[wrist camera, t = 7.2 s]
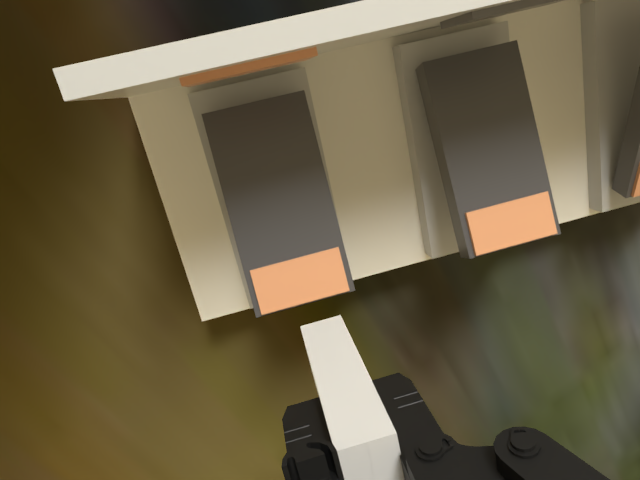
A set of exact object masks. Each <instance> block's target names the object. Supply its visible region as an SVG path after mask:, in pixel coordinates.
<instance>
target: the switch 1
mask: <svg viewBox="0 0 640 480" xmlns="http://www.w3.org/2000/svg"><path fill="white" fill-rule="evenodd" d="M201 115H202V118H203V122H204V126H205V130H206V133H207V137H208V141H209V144H210V148H211V152H212V156H213V159H214V163H215V167H216V170H217V174H218V178H219V182H220V185H221V189H222V193H223V196H224V200H225V204H226V208H227V211H228V215H229V219H230V222H231V226H232V230H233V234H234V237H235V241H236V245H237V249H238V252H239V256H240V260H241V263H242V267H243V271H244V275H245V278H246V282H247V286H248V289H249V293H250V297H251V301H252V304H253V308H254V312H255V315H256V318H258V317H261V316H265V315H269V314H272V313H276V312H279V311H283V310H287V309H290V308H294V307H298V306H301V305H305V304H308V303H312V302H316V301H319V300H323V299H327V298H330V297H334V296H337V295H341V294H345V293H348V292H352V291H355V287H354V283H353V279H352V275H351V271H350V267H349V263H348V259H347V256H346V252H345V248H344V244H343V240H342V236H341V232H340V228H339V224H338V220H337V216H336V212H335V209H334V205H333V201H332V197H331V193H330V189H329V185H328V181H327V177H326V173H325V169H324V165H323V162H322V158H321V154H320V150H319V146H318V142H317V138H316V134H315V130H314V126H313V122H312V119H311V115H310V111H309V107H308V103H307V99H306V95H305V91H304V90H302V91H297V92H293V93H289V94H285V95H280V96H276V97H272V98H268V99H263V100H259V101H255V102H251V103H246V104H242V105H238V106H233V107H229V108H225V109H221V110H216V111H212V112H208V113H204V114H201Z"/></svg>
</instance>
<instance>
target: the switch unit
mask: <svg viewBox="0 0 640 480" xmlns="http://www.w3.org/2000/svg"><path fill="white" fill-rule="evenodd" d="M515 40H517V42H518V47H519V51H520V55H521V60H522V64H523V69H524V73H525V77H526V82H527V86H528V90H529V95H530V99H531V104H532V108H533V112H534V117H535V121H536V126H537V130H538V134H539V139H540V143H541V148H542V152H543V156H544V161H545V165H546V169H547V174H548V178H549V183H550V187H551V191H552V196H553V200H554V205H555V209H556V213H557V218H558V222H559V224H560V223H564V222H568V221H571V220H575V219H579V218H582V217H586V216H590V215H593V214H597V213H601V212H606V211H610V210H613V209H617V208H621V207H624V206H628V205H632V204H635V203H639V202H640V196H637V197H629V198H625V197H623V196H622V195H620V194H619V193H617V192H616V191H614V190H613V189H611V188H612V184H613V180H614V175H615V171H616V167H617V162H618V158H619V154H620V149H621V145H622V140H623V136H624V132H625V127H626V123H627V119H628V114H629V110H630V106H631V101H632V97H633V92H634V88H635V84H636V79H637V75H638V71H639V66H640V0H363V1H358V2H354V3H349V4H345V5H340V6H335V7H331V8H326V9H322V10H317V11H313V12H308V13H304V14H299V15H294V16H290V17H285V18H281V19H276V20H272V21H267V22H263V23H258V24H254V25H249V26H244V27H240V28H235V29H231V30H226V31H222V32H217V33H213V34H208V35H203V36H199V37H194V38H190V39H185V40H181V41H176V42H172V43H167V44H163V45H158V46H153V47H149V48H144V49H140V50H135V51H131V52H126V53H122V54H117V55H112V56H108V57H103V58H99V59H94V60H90V61H85V62H81V63H76V64H72V65H67V66H62V67H58V68H53V72H54V75H55V77H56V80H57V83H58V86H59V88H60V91H61V94H62V96H63V99H64V101H80V100H96V99H112V98H128V99H129V102H130V105H131V108H132V111H133V114H134V117H135V120H136V123H137V126H138V129H139V132H140V135H141V138H142V141H143V145H144V148H145V151H146V154H147V157H148V160H149V163H150V166H151V169H152V172H153V175H154V178H155V181H156V184H157V187H158V190H159V193H160V196H161V199H162V202H163V205H164V208H165V211H166V214H167V217H168V220H169V223H170V226H171V229H172V232H173V235H174V238H175V241H176V244H177V247H178V250H179V253H180V256H181V259H182V262H183V265H184V268H185V271H186V274H187V277H188V280H189V283H190V286H191V289H192V292H193V295H194V298H195V301H196V304H197V308H198V311H199V314H200V317H201V320H202V321H206V320H210V319H213V318H217V317H221V316H224V315H228V314H232V313H235V312H239V311H243V310H246V309H252V308H253V304H252V301H251V297H250V293H249V289H248V286H247V282H246V278H245V275H244V271H243V267H242V263H241V260H240V256H239V252H238V249H237V245H236V241H235V237H234V234H233V230H232V226H231V222H230V219H229V215H228V211H227V208H226V204H225V200H224V196H223V193H222V189H221V185H220V182H219V178H218V174H217V170H216V167H215V163H214V159H213V156H212V152H211V148H210V144H209V141H208V137H207V133H206V130H205V126H204V122H203V118H202V115H201V114H204V113H208V112H212V111H216V110H221V109H225V108H229V107H233V106H238V105H242V104H246V103H251V102H255V101H259V100H263V99H268V98H272V97H276V96H280V95H285V94H289V93H293V92H297V91H302V90H304V91H305V95H306V99H307V103H308V107H309V111H310V115H311V119H312V122H313V126H314V130H315V134H316V138H317V142H318V146H319V150H320V154H321V158H322V162H323V165H324V169H325V173H326V177H327V181H328V185H329V189H330V193H331V197H332V201H333V205H334V209H335V212H336V216H337V220H338V224H339V228H340V232H341V236H342V240H343V244H344V248H345V252H346V256H347V259H348V263H349V267H350V271H351V275H352V279H353V280H356V279H359V278H363V277H367V276H370V275H374V274H378V273H381V272H385V271H389V270H392V269H396V268H400V267H403V266H407V265H411V264H414V263H418V262H422V261H425V260H429V259H434V258H438V257H442V256H445V255H449V254H453V253H456V252H459V249H458V245H457V241H456V237H455V232H454V228H453V224H452V220H451V216H450V212H449V208H448V203H447V199H446V195H445V191H444V187H443V183H442V179H441V174H440V170H439V166H438V162H437V158H436V154H435V150H434V145H433V141H432V137H431V133H430V129H429V125H428V121H427V116H426V112H425V108H424V104H423V100H422V96H421V91H420V87H419V83H418V79H417V75H416V71H415V69H416V68H417V67H418V66H419V65H420V64H421V63H422V62H425V61H430V60H434V59H438V58H442V57H447V56H451V55H455V54H459V53H464V52H468V51H472V50H476V49H481V48H485V47H489V46H494V45H498V44H502V43H506V42H511V41H515Z"/></svg>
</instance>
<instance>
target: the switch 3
mask: <svg viewBox="0 0 640 480" xmlns="http://www.w3.org/2000/svg"><path fill="white" fill-rule="evenodd" d="M611 189H613V190H614V191H616V192H617V193H619V194H620V195H622V196H623V197H625V198H629V197H637V196H640V66H639V71H638V75H637V79H636V84H635V88H634V92H633V97H632V101H631V106H630V110H629V114H628V119H627V123H626V127H625V132H624V136H623V140H622V145H621V149H620V154H619V158H618V162H617V167H616V171H615V175H614V180H613V184H612V188H611Z"/></svg>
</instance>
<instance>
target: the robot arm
mask: <svg viewBox="0 0 640 480" xmlns="http://www.w3.org/2000/svg"><path fill="white" fill-rule="evenodd" d="M300 328H301V332H302V336H303V339H304V343H305V347H306V351H307V355H308V359H309V362H310V366H311V370H312V374H313V378H314V382H315V385H316V389H317V393H318V398H315V399H312V400H308V401H305V402H301V403H298V404H294V405H291V406H288V407H287V409H286V411H285V414H284V416H283V419H282V421H283V428H284V433H285V434H284V435H285V442H286V449H287V453H286V455H285V456H284V458H283V460H282V470H283V474H284V477H285V480H610V479H608V478H607V477H605V476H604V475H602V474H601V473H600V472H598V471H597V470H595V469H594V468H593V467H591V466H590V465H588V464H587V463H586V462H584V461H583V460H581V459H580V458H578V457H577V456H576V455H574V454H573V453H571V452H570V451H569V450H567V449H566V448H564V447H563V446H561V445H560V444H559V443H557V442H556V441H554V440H553V439H552V438H550V437H549V436H547V435H546V434H544V433H542V432H540V431H538V430H536V429H533V428H528V427H512V428H509V429H506V430H503V431H502V432H501V433H500V434H498V435H497V436H496V438H495V441H494V443H493V444H494V446H481V447H474V446H465V445H461V444H458V443H457V442H456V441H455V440H454V439H453V438H452V437H450V436H448V435H446V434H444V433H443V432H442V430H441V429H440V427H439V425H438V424H437V422H436V420H435V419H434V417H433V416H432V414H431V412H430V411H429V409H428V407H427V406H426V404H425V402H424V401H423V399H422V398H421V396H420V394H419V393H418V392H417V389H416V388H415V386H414V385H413V383H412V381H411V380H410V379H408V378H406V377H405V376H403V375H401V374H400V373H396V374H393V375H389V376H386V377H383V378H379V379H376V380H371V378H370V376H369V374H368V372H367V370H366V367H365V365H364V363H363V361H362V359H361V357H360V355H359V353H358V351H357V349H356V346H355V344H354V342H353V340H352V338H351V336H350V334H349V332H348V330H347V328H346V325H345V323H344V321H343V319H342V317H341V315H338V316H335V317H331V318H328V319H324V320H321V321H317V322H313V323H310V324H306V325H303V326H300Z"/></svg>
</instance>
